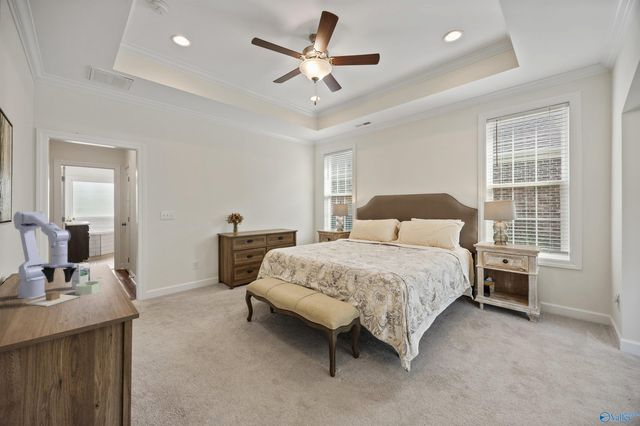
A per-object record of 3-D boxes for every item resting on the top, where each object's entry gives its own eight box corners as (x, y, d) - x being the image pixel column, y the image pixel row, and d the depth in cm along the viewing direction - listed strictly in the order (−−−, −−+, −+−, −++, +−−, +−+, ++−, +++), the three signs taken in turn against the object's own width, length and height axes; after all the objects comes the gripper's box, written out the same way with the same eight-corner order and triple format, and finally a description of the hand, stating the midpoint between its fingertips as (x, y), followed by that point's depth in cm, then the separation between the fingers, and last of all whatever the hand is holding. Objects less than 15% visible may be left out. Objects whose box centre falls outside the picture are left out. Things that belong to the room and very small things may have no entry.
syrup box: (79, 290, 145) (79, 264, 145) (71, 289, 146) (71, 263, 146) (90, 287, 151) (90, 262, 150) (82, 286, 152) (82, 261, 152)
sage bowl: (70, 294, 137) (70, 285, 137) (90, 289, 147) (90, 280, 147) (85, 296, 135) (85, 286, 135) (104, 290, 145) (104, 281, 145)
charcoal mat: (21, 304, 123) (21, 304, 123) (57, 295, 137) (57, 294, 137) (48, 308, 120) (48, 307, 120) (81, 297, 133) (81, 297, 133)
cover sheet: (25, 304, 123) (25, 295, 123) (58, 295, 136) (58, 287, 136) (46, 306, 120) (46, 297, 120) (78, 297, 133) (78, 289, 133)
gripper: (34, 256, 123) (34, 284, 123) (68, 256, 125) (68, 284, 125) (48, 253, 130) (48, 280, 130) (80, 253, 132) (80, 280, 132)
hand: (59, 282), depth 128 cm, fingers open, 7 cm apart
